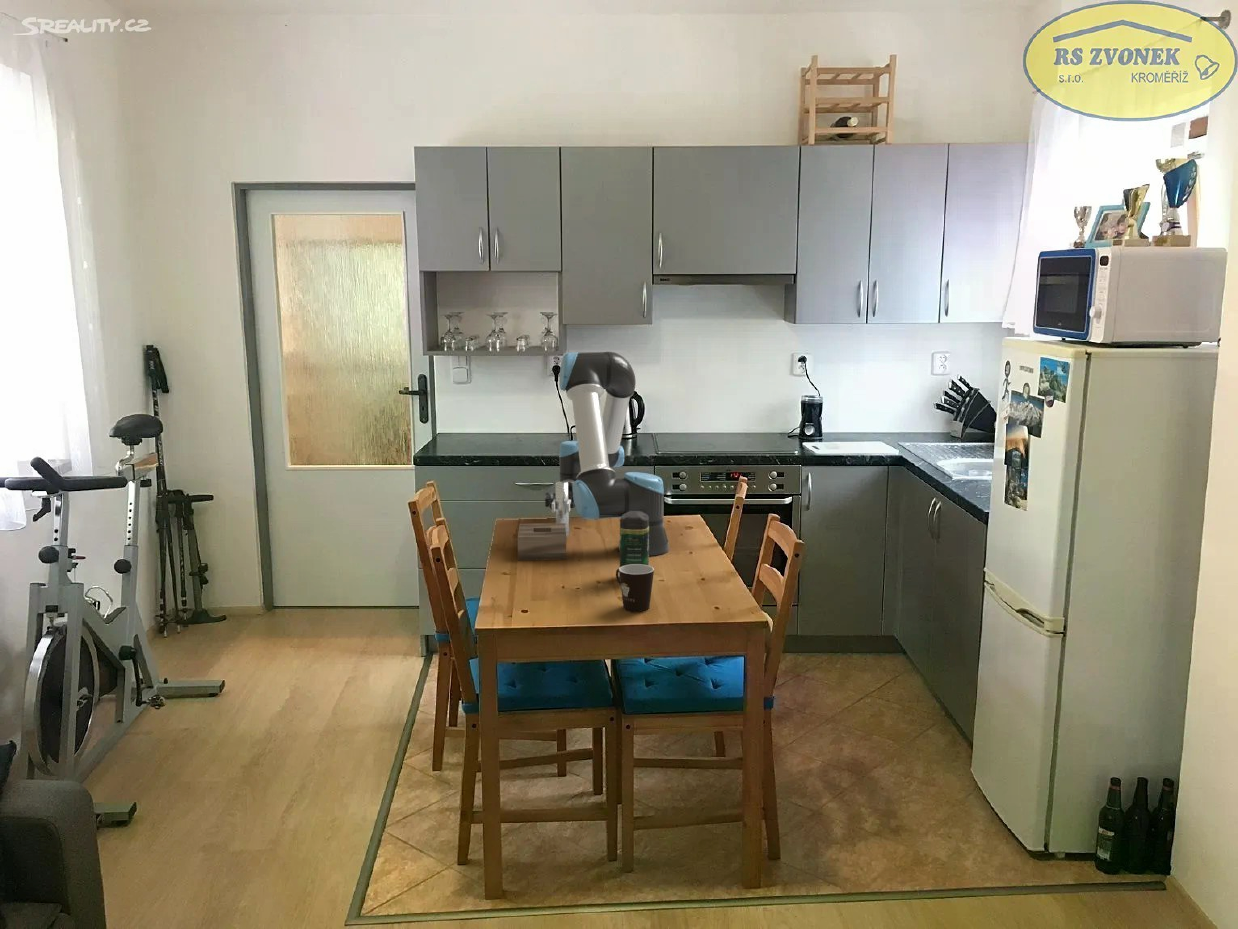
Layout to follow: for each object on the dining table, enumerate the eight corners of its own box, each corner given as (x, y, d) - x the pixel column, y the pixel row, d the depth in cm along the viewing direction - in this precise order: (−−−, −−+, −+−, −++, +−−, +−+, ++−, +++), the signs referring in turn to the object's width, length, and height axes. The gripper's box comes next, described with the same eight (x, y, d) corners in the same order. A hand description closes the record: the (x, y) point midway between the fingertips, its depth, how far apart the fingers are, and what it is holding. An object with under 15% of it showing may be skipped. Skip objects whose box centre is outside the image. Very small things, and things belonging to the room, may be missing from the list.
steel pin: (571, 535, 305) (570, 482, 302) (560, 537, 303) (560, 484, 300) (564, 533, 308) (563, 480, 305) (553, 535, 306) (553, 482, 303)
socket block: (566, 559, 282) (566, 536, 281) (518, 560, 281) (517, 537, 280) (565, 545, 298) (565, 523, 297) (520, 546, 297) (519, 523, 296)
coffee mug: (657, 612, 236) (657, 573, 234) (623, 615, 234) (623, 575, 232) (646, 598, 247) (646, 560, 245) (613, 600, 245) (613, 562, 243)
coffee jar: (647, 585, 258) (648, 517, 254) (618, 584, 258) (618, 516, 255) (650, 574, 267) (650, 508, 264) (621, 573, 268) (621, 508, 265)
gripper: (593, 504, 322) (588, 520, 299) (542, 503, 323) (533, 519, 300) (593, 481, 320) (587, 496, 297) (542, 481, 321) (532, 496, 298)
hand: (560, 508), depth 299 cm, fingers closed on steel pin, 4 cm apart
